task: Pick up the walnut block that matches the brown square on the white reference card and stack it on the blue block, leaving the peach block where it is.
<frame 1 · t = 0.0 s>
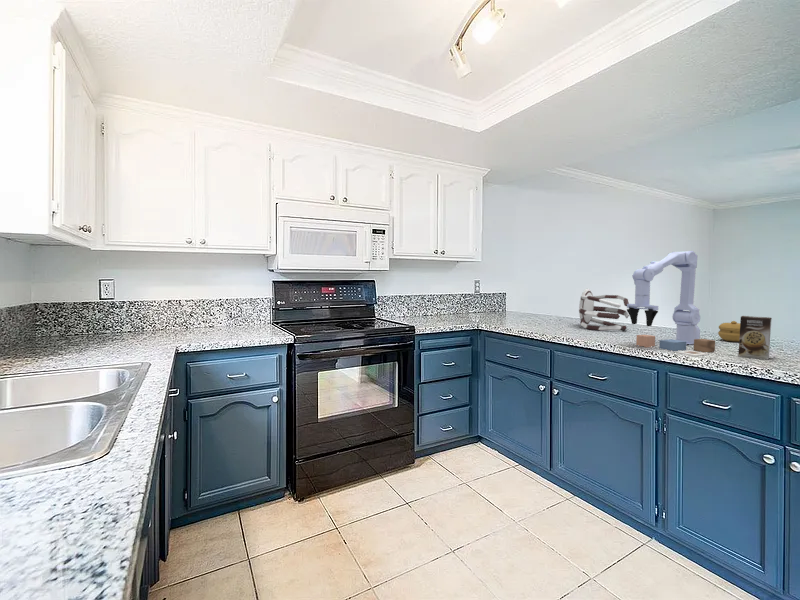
hand: (641, 324, 182), 10 cm above the worktop, tool pointing down, fingers open, 7 cm apart
pot: (733, 341, 196), on the worktop
walnut block: (704, 351, 172), on the worktop
coffee box: (753, 357, 160), on the worktop
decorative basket: (601, 328, 245), on the worktop
blue block: (672, 349, 177), on the worktop
peach block: (645, 346, 185), on the worktop
reference card: (692, 353, 167), on the worktop
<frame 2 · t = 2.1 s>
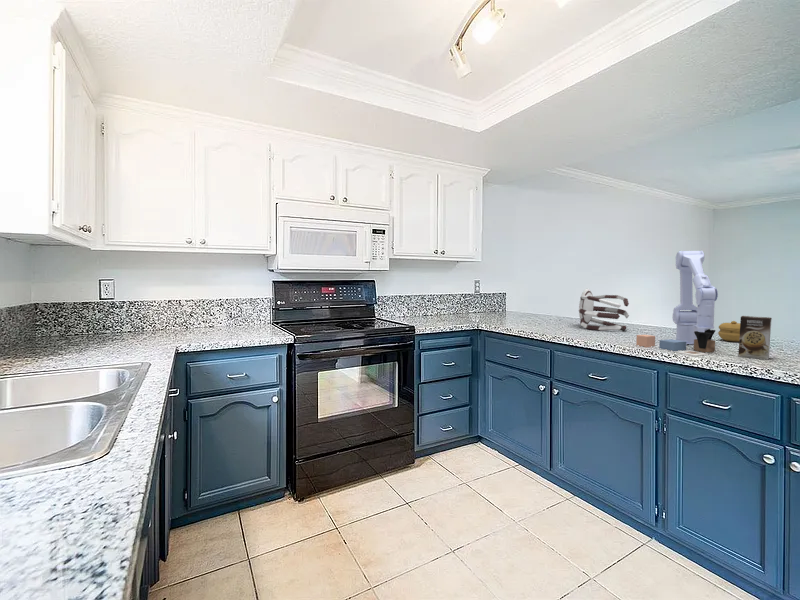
hand: (704, 347, 172), 2 cm above the worktop, tool pointing down, fingers open, 7 cm apart
nothing on the worktop moved.
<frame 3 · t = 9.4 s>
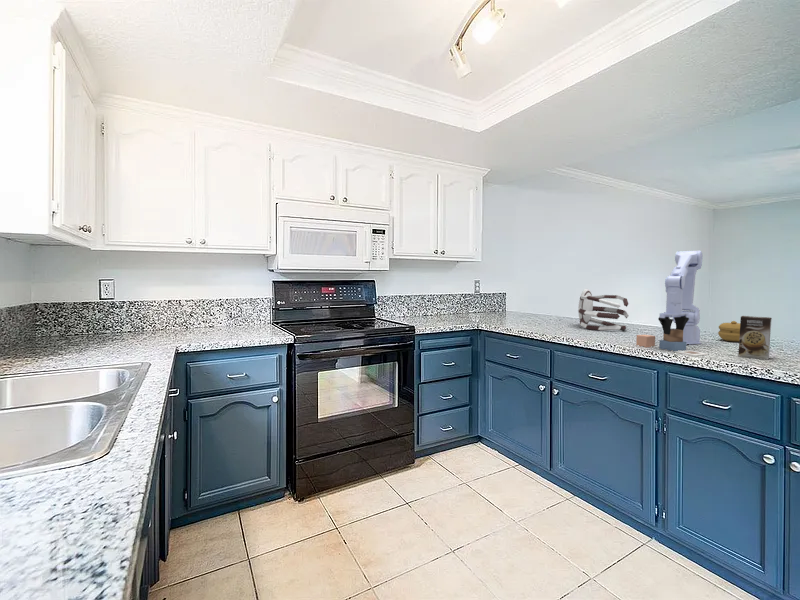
hand: (673, 333, 176), 7 cm above the worktop, tool pointing down, fingers open, 7 cm apart
walnut block: (672, 340, 177), point 4 cm above the worktop, touching blue block
blue block: (672, 349, 177), on the worktop, touching walnut block
everything else where it was.
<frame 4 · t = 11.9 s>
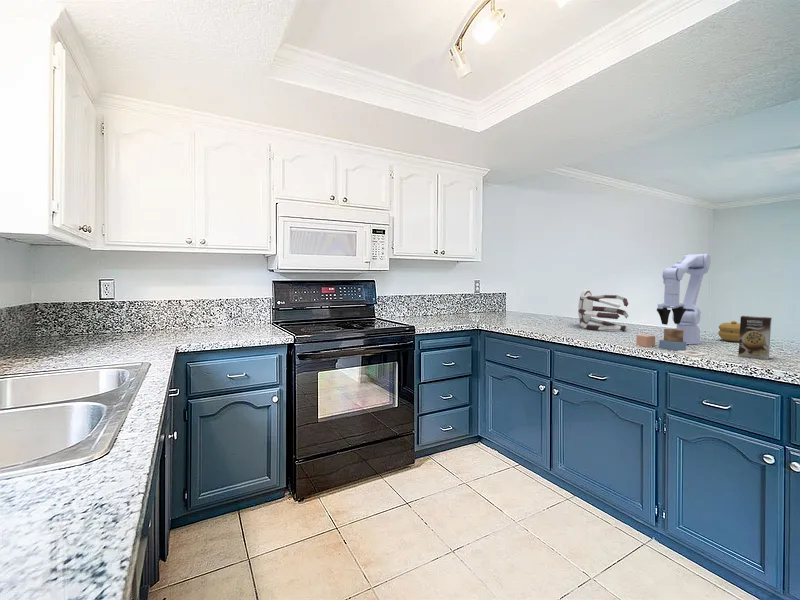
hand: (670, 324, 183), 10 cm above the worktop, tool pointing down, fingers open, 7 cm apart
nothing on the worktop moved.
at the end: walnut block 0.3 cm off-centre on the blue block, point 4.0 cm above the blue block's base; walnut block tilted 1°; the gripper is holding nothing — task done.
